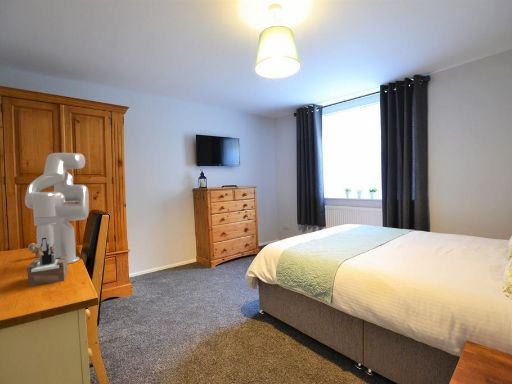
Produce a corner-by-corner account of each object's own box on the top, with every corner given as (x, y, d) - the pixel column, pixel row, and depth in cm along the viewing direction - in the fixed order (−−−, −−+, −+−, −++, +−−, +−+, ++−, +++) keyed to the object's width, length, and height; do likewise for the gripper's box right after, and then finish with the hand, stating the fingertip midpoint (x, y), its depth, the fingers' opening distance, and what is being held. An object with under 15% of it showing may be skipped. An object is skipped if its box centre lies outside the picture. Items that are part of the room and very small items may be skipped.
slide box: (35, 276, 121) (34, 259, 121) (67, 271, 127) (66, 255, 127) (28, 286, 109) (27, 267, 108) (64, 280, 115) (63, 262, 114)
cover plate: (37, 264, 120) (37, 253, 120) (62, 260, 124) (62, 250, 124) (31, 272, 108) (30, 260, 108) (59, 268, 113) (58, 256, 113)
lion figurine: (31, 260, 149) (30, 244, 149) (26, 259, 152) (25, 243, 152) (60, 253, 162) (59, 239, 162) (55, 252, 165) (55, 238, 165)
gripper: (38, 219, 121) (40, 259, 122) (29, 224, 107) (32, 269, 107) (58, 218, 125) (61, 256, 125) (53, 222, 110) (55, 265, 111)
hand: (47, 262), depth 116 cm, fingers closed on cover plate, 3 cm apart
